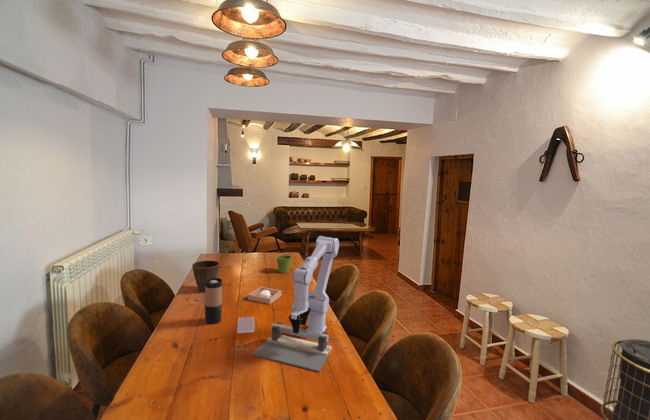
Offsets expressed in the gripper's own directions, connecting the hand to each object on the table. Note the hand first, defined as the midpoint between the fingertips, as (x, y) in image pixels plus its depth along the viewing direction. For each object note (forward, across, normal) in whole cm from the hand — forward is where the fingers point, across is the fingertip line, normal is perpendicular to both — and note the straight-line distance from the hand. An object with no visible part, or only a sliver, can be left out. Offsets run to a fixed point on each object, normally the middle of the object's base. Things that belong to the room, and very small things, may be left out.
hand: (299, 328), depth 135 cm
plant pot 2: (+7, -88, -49) cm, 101 cm away
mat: (+8, +9, 0) cm, 12 cm away
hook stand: (+8, 0, 0) cm, 8 cm away
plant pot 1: (+8, -35, -75) cm, 83 cm away
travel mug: (+8, -4, -46) cm, 47 cm away
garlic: (+8, -41, -39) cm, 57 cm away
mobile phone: (+8, -7, -30) cm, 32 cm away
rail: (+3, 0, 0) cm, 3 cm away
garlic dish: (+7, -40, -38) cm, 56 cm away
